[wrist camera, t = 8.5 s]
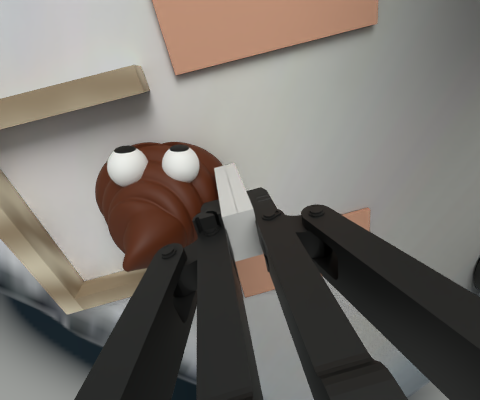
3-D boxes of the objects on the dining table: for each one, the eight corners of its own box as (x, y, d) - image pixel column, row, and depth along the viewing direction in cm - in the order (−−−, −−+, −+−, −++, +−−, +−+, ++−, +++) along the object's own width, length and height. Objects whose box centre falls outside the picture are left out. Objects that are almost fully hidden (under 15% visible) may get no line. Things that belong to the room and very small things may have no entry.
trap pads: (366, 260, 27) (368, 262, 27) (244, 294, 27) (245, 297, 27) (378, -126, 14) (383, -132, 13) (131, -67, 13) (129, -71, 13)
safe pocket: (212, 259, 24) (213, 273, 22) (76, 296, 24) (66, 314, 22) (141, 66, 16) (133, 64, 14) (-66, 118, 16) (-100, 124, 14)
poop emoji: (115, 233, 21) (62, 334, 13) (89, 133, 17) (-11, 186, 9) (230, 225, 23) (248, 312, 14) (229, 131, 19) (253, 175, 10)
